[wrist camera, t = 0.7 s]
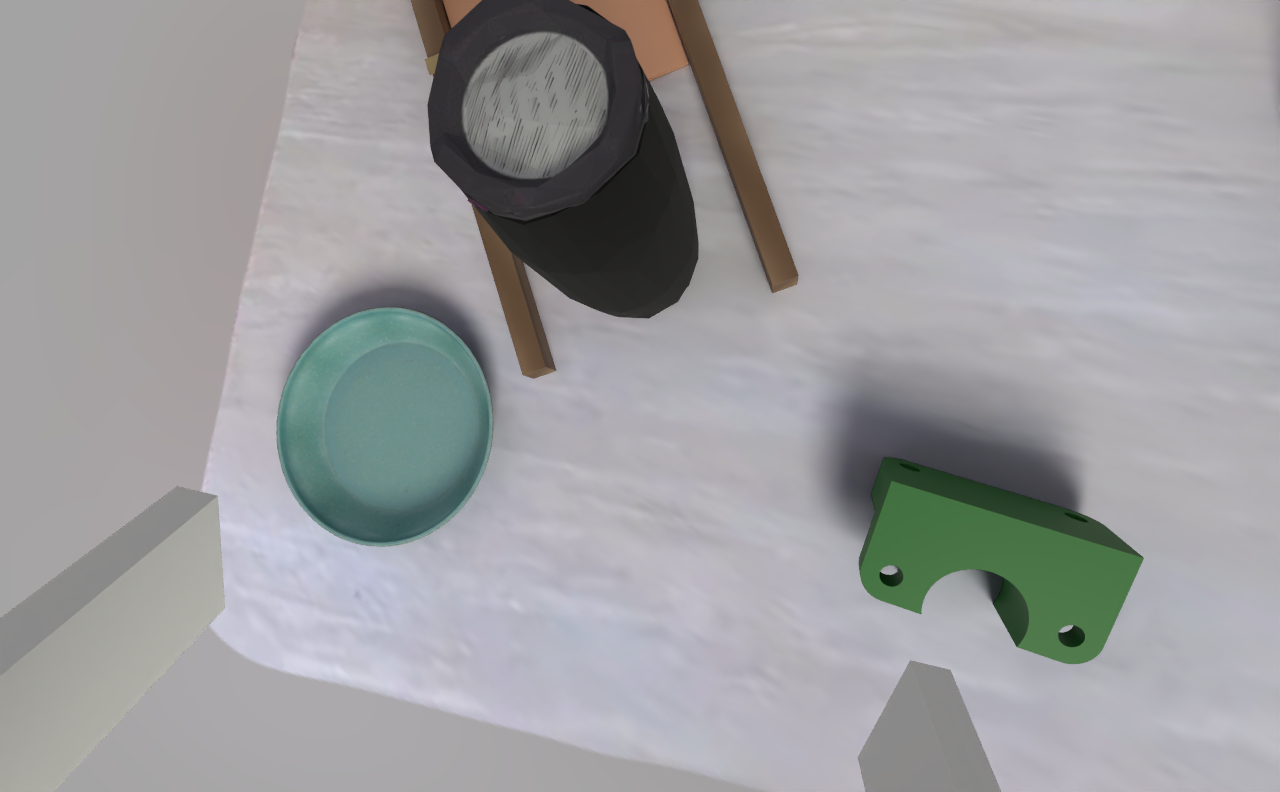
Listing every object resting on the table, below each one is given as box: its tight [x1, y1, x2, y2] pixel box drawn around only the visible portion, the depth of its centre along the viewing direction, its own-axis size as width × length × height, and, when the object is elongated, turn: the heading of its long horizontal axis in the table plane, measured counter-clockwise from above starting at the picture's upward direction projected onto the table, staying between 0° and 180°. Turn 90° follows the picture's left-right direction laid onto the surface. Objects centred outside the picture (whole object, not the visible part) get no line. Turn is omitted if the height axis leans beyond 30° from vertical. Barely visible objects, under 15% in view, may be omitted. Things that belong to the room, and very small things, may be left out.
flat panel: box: [443, 0, 689, 81], centre depth 43 cm, size 14×11×1 cm
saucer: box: [277, 307, 493, 547], centre depth 42 cm, size 15×15×3 cm
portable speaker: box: [428, 0, 698, 318], centre depth 32 cm, size 9×9×20 cm
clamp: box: [859, 457, 1144, 664], centre depth 34 cm, size 12×6×9 cm, turn 67°
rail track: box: [411, 0, 798, 378], centre depth 42 cm, size 17×30×2 cm, turn 18°
